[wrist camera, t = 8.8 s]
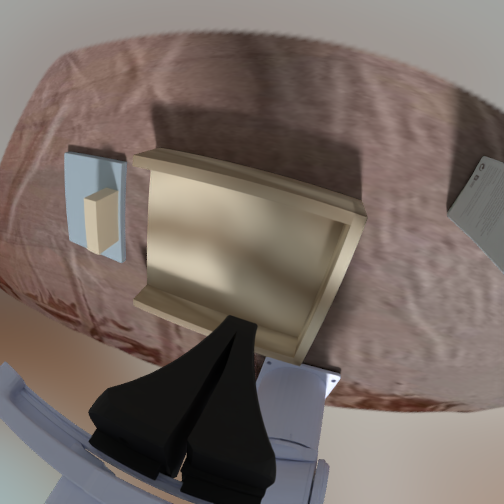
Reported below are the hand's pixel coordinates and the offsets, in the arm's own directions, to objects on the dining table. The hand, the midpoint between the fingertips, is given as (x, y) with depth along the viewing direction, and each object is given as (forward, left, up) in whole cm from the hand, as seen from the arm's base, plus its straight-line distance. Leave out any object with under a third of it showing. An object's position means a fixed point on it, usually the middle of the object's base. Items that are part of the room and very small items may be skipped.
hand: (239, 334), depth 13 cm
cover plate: (-2, +18, -11) cm, 21 cm away
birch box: (-2, +3, -10) cm, 11 cm away
